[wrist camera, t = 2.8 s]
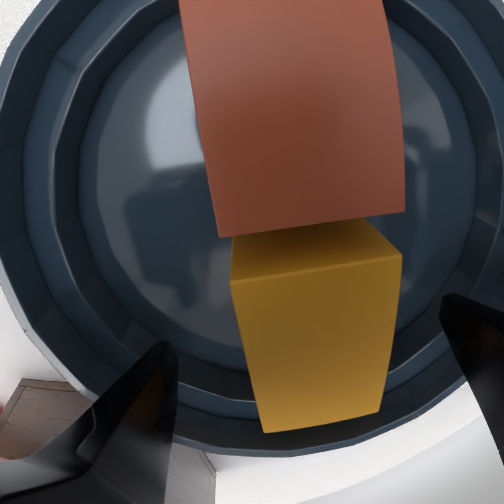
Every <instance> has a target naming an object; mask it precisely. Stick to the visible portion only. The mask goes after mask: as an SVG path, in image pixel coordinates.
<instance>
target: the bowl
mask: <svg viewBox="0 0 504 504" xmlns="http://www.w3.org/2000/svg"><path fill="white" fill-rule="evenodd" d="M382 3H383V7H384V11H385V15H386V19H387V24H388V29H389V33H390V38H391V44H392V49H393V55H394V61H395V67H396V73H397V81H398V88H399V96H400V105H401V115H402V127H403V141H404V160H405V212H401V213H393V214H386V215H378V216H370V217H363V218H364V219H365V220H366V221H367V222H369V223H370V224H371V225H372V226H373V227H374V228H375V229H376V230H377V231H378V232H379V233H380V234H381V235H382V236H383V237H385V238H386V239H387V240H388V241H389V242H390V243H391V244H392V245H393V246H394V247H395V248H396V249H397V250H398V251H399V252H400V253H401V254H402V257H403V258H402V271H401V283H400V293H399V302H398V310H397V318H396V325H395V332H394V338H393V344H392V350H391V356H390V362H389V367H388V372H387V377H386V382H385V387H384V391H383V396H382V400H381V404H380V408H379V411H378V412H376V413H372V414H368V415H364V416H360V417H356V418H351V419H347V420H342V421H338V422H333V423H328V424H323V425H317V426H312V427H306V428H300V429H293V430H286V431H279V432H271V433H264V432H263V429H262V425H261V421H260V417H259V412H258V408H257V404H256V400H255V396H254V392H253V388H252V383H251V379H250V375H249V371H248V366H247V362H246V358H245V353H244V349H243V345H242V340H241V336H240V331H239V327H238V322H237V318H236V313H235V309H234V304H233V300H232V295H231V290H230V286H229V278H230V264H231V251H232V238H233V236H231V237H224V238H220V237H219V234H218V229H217V224H216V219H215V214H214V209H213V204H212V198H211V193H210V188H209V183H208V178H207V172H206V167H205V161H204V156H203V151H202V145H201V139H200V134H199V128H198V122H197V117H196V111H195V105H194V99H193V93H192V87H191V81H190V75H189V69H188V63H187V56H186V50H185V43H184V37H183V30H182V23H181V16H180V9H179V2H178V0H41V1H40V2H39V4H38V5H37V6H36V7H35V9H34V10H33V11H32V13H31V14H30V15H29V17H28V18H27V19H26V21H25V22H24V23H23V25H22V26H21V28H20V29H19V31H18V32H17V34H16V35H15V36H14V38H13V39H12V41H11V43H10V46H8V48H7V50H6V53H5V55H4V58H3V60H2V63H1V66H0V285H1V288H2V290H3V292H4V294H5V296H6V298H7V300H8V303H9V305H10V307H11V309H12V311H13V313H14V315H15V317H16V319H17V320H18V322H19V324H20V326H21V328H22V329H23V330H24V333H25V334H26V335H27V336H28V338H29V339H30V340H31V341H32V342H33V344H34V345H35V346H36V347H37V348H38V349H39V351H40V352H41V353H42V354H43V355H44V356H45V357H46V359H47V360H48V361H49V362H50V363H51V364H52V365H53V366H54V367H55V368H56V370H57V371H58V372H59V373H60V374H61V375H62V376H63V377H64V378H65V379H66V380H67V381H68V382H69V383H70V384H71V385H72V386H73V387H74V388H75V389H76V390H77V391H80V393H81V394H82V395H84V396H85V397H87V398H88V399H90V400H91V401H93V402H95V401H96V400H97V399H98V398H99V397H100V396H101V395H102V394H103V393H105V392H106V391H107V390H108V389H109V388H110V387H111V386H112V385H113V384H114V383H115V382H116V381H117V380H118V379H119V378H120V377H121V376H122V375H123V374H124V373H125V372H126V371H127V370H128V369H129V368H130V367H131V366H132V365H134V364H135V363H136V362H137V361H138V360H139V359H140V358H141V357H142V356H143V355H144V354H145V353H146V352H147V351H148V350H149V349H150V348H151V347H152V346H153V345H154V344H155V343H156V342H159V341H170V342H171V344H172V346H173V349H174V351H175V354H176V356H177V359H178V363H179V373H178V401H177V412H176V419H175V426H174V432H173V439H172V442H174V443H177V444H181V445H184V446H187V447H191V448H194V449H198V450H202V451H206V452H209V453H213V454H214V453H216V454H221V455H233V456H248V457H295V456H301V455H308V454H314V453H319V452H324V451H330V450H334V449H339V448H344V447H348V446H353V445H356V444H359V443H361V442H364V441H366V440H369V439H371V438H374V437H376V436H378V435H381V434H383V433H385V432H388V431H390V430H392V429H394V428H396V427H399V426H401V425H403V424H405V423H407V422H409V421H411V420H413V419H415V418H417V417H419V416H420V415H422V414H424V413H425V412H427V411H428V410H430V409H431V408H432V407H434V406H435V405H437V404H438V403H439V402H441V401H442V400H443V399H445V398H446V397H447V396H449V395H450V394H451V393H453V392H454V391H455V390H456V389H458V388H459V387H460V386H461V385H463V384H464V383H465V382H466V381H467V379H466V377H465V375H464V374H463V372H462V370H461V368H460V366H459V364H458V362H457V360H456V358H455V356H454V354H453V352H452V349H451V347H450V345H449V342H448V340H447V337H446V335H445V333H444V330H443V328H442V326H441V324H440V321H439V311H440V306H441V301H442V297H443V296H444V295H445V294H449V293H456V294H459V295H462V296H464V297H467V298H469V299H472V300H474V301H477V302H479V303H482V304H484V305H487V306H489V307H492V308H494V309H497V310H499V311H501V312H504V2H503V1H502V0H382Z"/></svg>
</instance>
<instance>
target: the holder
mask: <svg viewBox="0 0 504 504" xmlns="http://www.w3.org/2000/svg"><path fill="white" fill-rule="evenodd" d="M93 403H94V402H93V401H91V400H90V399H88V398H87V397H85V396H84V395H82V394H81V393H80V391H77V390H76V389H75V388H74V387H73V386H72V385H71V384H70V383H61V382H49V381H38V380H28V379H21V381H20V382H19V384H18V386H17V388H16V389H15V391H14V393H13V394H12V396H11V398H10V400H9V401H8V403H7V405H6V407H5V408H4V410H3V412H2V414H1V415H0V461H2V460H18V459H23V458H26V457H29V456H31V455H33V454H34V453H35V452H37V451H38V450H39V449H41V448H42V447H43V446H45V445H46V444H47V443H48V442H50V441H51V440H52V439H53V438H55V437H56V436H57V435H58V434H60V433H61V432H62V431H63V430H65V429H66V428H67V427H68V426H69V425H71V424H72V423H73V422H74V421H75V420H76V419H77V418H78V417H79V416H81V415H82V414H83V413H84V412H85V411H86V410H87V409H88V408H89V407H91V405H92V404H93ZM215 479H216V472H215V470H214V469H213V467H212V465H211V464H210V462H209V460H208V459H207V457H206V455H205V454H204V452H203V451H202V450H198V449H194V448H191V447H187V446H184V445H181V444H177V443H174V442H172V446H171V454H170V461H169V469H168V477H167V485H166V493H165V502H164V504H215V487H216V480H215Z"/></svg>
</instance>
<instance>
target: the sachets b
mask: <svg viewBox="0 0 504 504" xmlns="http://www.w3.org/2000/svg"><path fill="white" fill-rule="evenodd" d="M178 2H179V9H180V16H181V23H182V30H183V37H184V43H185V50H186V56H187V63H188V69H189V75H190V81H191V87H192V93H193V99H194V105H195V111H196V117H197V122H198V128H199V134H200V139H201V145H202V151H203V156H204V161H205V167H206V172H207V178H208V183H209V188H210V193H211V198H212V204H213V209H214V214H215V219H216V224H217V229H218V234H219V237H220V238H224V237H231V236H237V235H244V234H250V233H257V232H264V231H270V230H277V229H284V228H291V227H298V226H305V225H312V224H319V223H326V222H334V221H341V220H348V219H355V218H363V217H370V216H378V215H386V214H393V213H401V212H405V160H404V141H403V127H402V115H401V105H400V96H399V88H398V81H397V73H396V67H395V61H394V55H393V49H392V44H391V38H390V33H389V29H388V24H387V19H386V15H385V11H384V7H383V3H382V0H178Z"/></svg>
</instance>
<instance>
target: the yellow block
mask: <svg viewBox="0 0 504 504" xmlns="http://www.w3.org/2000/svg"><path fill="white" fill-rule="evenodd" d="M402 258H403V257H402V254H401V253H400V252H399V251H398V250H397V249H396V248H395V247H394V246H393V245H392V244H391V243H390V242H389V241H388V240H387V239H386V238H385V237H383V236H382V235H381V234H380V233H379V232H378V231H377V230H376V229H375V228H374V227H373V226H372V225H371V224H370V223H369V222H367V221H366V220H365V219H364V218H355V219H348V220H341V221H334V222H326V223H319V224H312V225H305V226H298V227H291V228H284V229H277V230H270V231H264V232H257V233H250V234H244V235H237V236H233V238H232V251H231V264H230V278H229V286H230V290H231V295H232V300H233V304H234V309H235V313H236V318H237V322H238V327H239V331H240V336H241V340H242V345H243V349H244V353H245V358H246V362H247V366H248V371H249V375H250V379H251V383H252V388H253V392H254V396H255V400H256V404H257V408H258V412H259V417H260V421H261V425H262V429H263V432H264V433H271V432H279V431H286V430H293V429H300V428H306V427H312V426H317V425H323V424H328V423H333V422H338V421H342V420H347V419H351V418H356V417H360V416H364V415H368V414H372V413H376V412H378V411H379V408H380V404H381V400H382V396H383V391H384V387H385V382H386V377H387V372H388V367H389V362H390V356H391V350H392V344H393V338H394V332H395V325H396V318H397V310H398V302H399V293H400V283H401V271H402Z"/></svg>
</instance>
